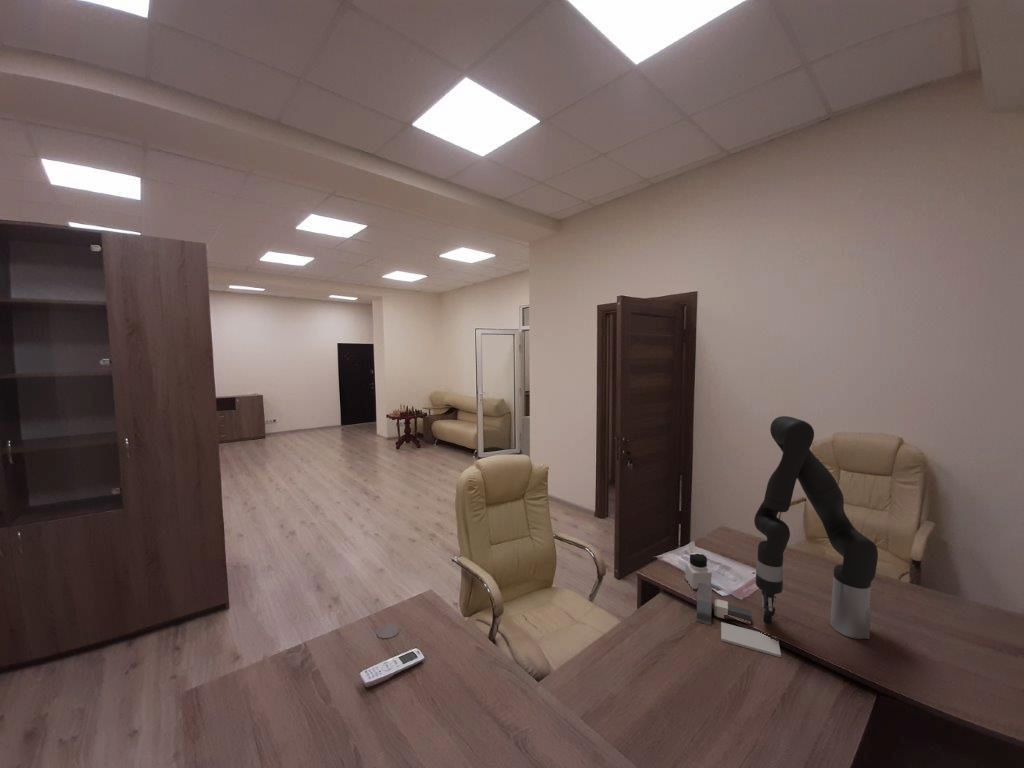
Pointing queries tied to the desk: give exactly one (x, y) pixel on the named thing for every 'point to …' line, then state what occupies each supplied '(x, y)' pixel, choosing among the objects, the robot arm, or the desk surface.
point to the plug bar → (731, 610)
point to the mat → (749, 639)
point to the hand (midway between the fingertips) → (767, 622)
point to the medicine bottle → (697, 570)
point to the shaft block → (704, 603)
